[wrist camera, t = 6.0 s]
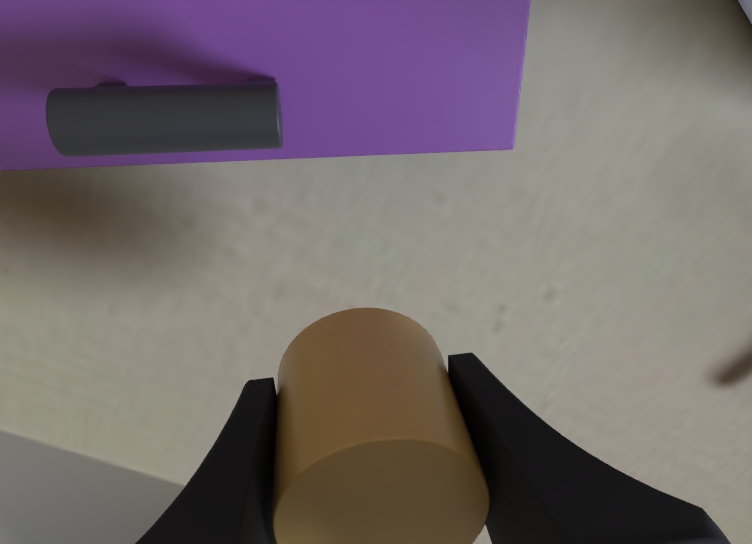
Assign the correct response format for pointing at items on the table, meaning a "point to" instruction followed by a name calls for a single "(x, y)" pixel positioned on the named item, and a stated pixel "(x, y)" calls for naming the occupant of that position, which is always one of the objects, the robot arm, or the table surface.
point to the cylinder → (372, 438)
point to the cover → (255, 79)
